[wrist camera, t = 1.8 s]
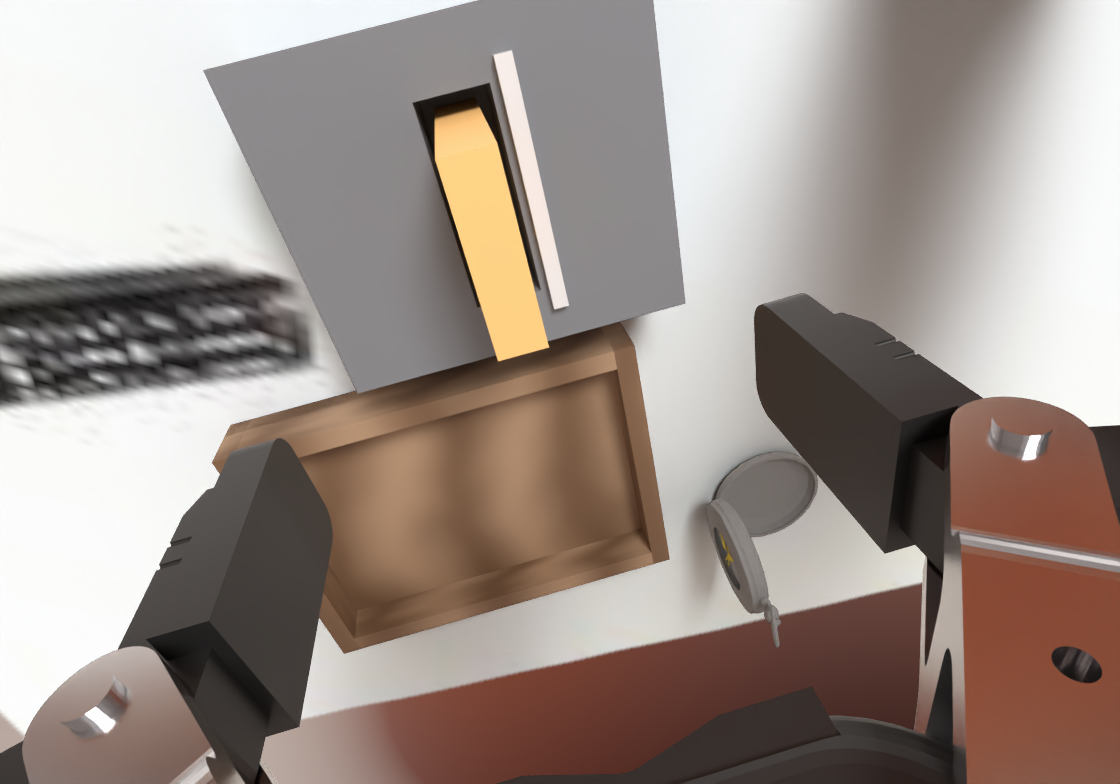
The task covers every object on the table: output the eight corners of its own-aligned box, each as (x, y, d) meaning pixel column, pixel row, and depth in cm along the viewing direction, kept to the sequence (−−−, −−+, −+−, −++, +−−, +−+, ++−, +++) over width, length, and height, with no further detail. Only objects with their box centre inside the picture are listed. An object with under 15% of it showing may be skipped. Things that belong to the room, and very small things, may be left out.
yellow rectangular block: (474, 97, 24) (497, 142, 15) (513, 243, 27) (549, 347, 19) (434, 107, 24) (435, 159, 15) (477, 253, 27) (498, 361, 18)
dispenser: (609, -33, 23) (652, -45, 18) (649, 262, 30) (688, 307, 25) (246, 60, 23) (198, 71, 18) (368, 338, 29) (356, 398, 25)
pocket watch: (828, 476, 40) (935, 600, 31) (734, 556, 42) (808, 691, 34) (753, 417, 36) (851, 539, 28) (654, 508, 38) (716, 646, 30)
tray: (618, 318, 31) (634, 345, 28) (654, 524, 39) (669, 559, 37) (230, 425, 30) (212, 462, 28) (350, 611, 38) (344, 653, 36)
